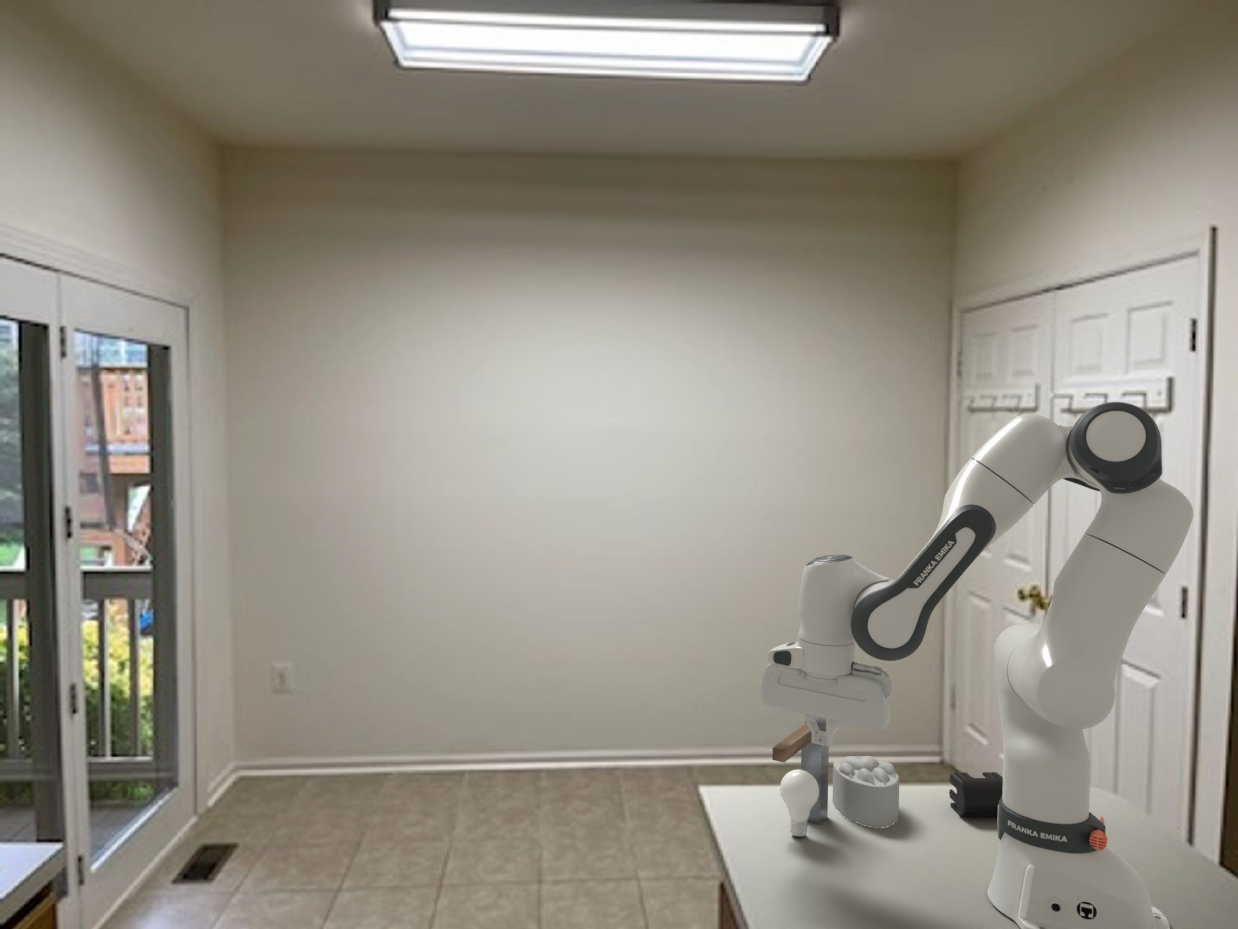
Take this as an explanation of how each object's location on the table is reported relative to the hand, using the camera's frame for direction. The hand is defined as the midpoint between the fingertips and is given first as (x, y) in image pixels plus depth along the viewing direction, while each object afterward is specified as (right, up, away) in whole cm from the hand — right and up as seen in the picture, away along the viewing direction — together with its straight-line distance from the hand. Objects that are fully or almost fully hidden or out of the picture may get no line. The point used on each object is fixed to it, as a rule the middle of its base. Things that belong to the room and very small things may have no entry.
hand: (822, 744), depth 135 cm
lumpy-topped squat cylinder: (+12, -18, +17) cm, 27 cm away
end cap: (+32, -18, +16) cm, 40 cm away
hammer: (-2, -3, +7) cm, 8 cm away
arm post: (+2, -17, +14) cm, 22 cm away
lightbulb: (-2, -18, +7) cm, 19 cm away
